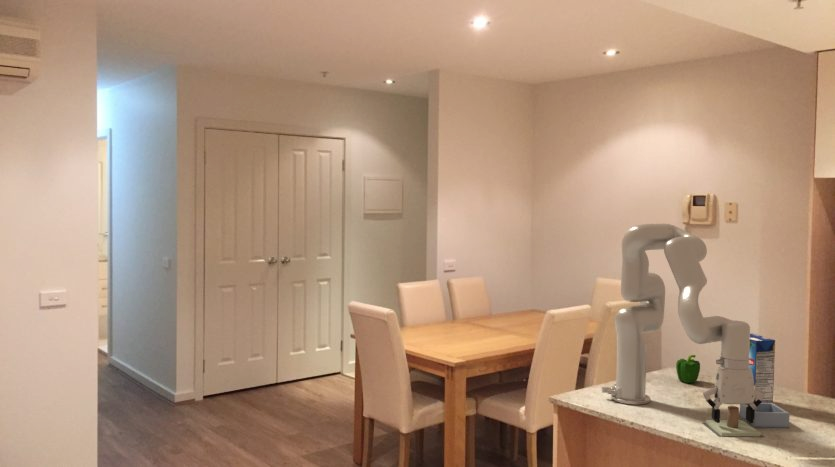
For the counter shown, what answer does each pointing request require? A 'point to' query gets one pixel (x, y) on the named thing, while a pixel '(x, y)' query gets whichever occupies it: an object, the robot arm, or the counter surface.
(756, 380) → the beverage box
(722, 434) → the lid
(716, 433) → the mat
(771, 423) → the dish
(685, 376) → the bell pepper
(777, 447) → the counter surface
